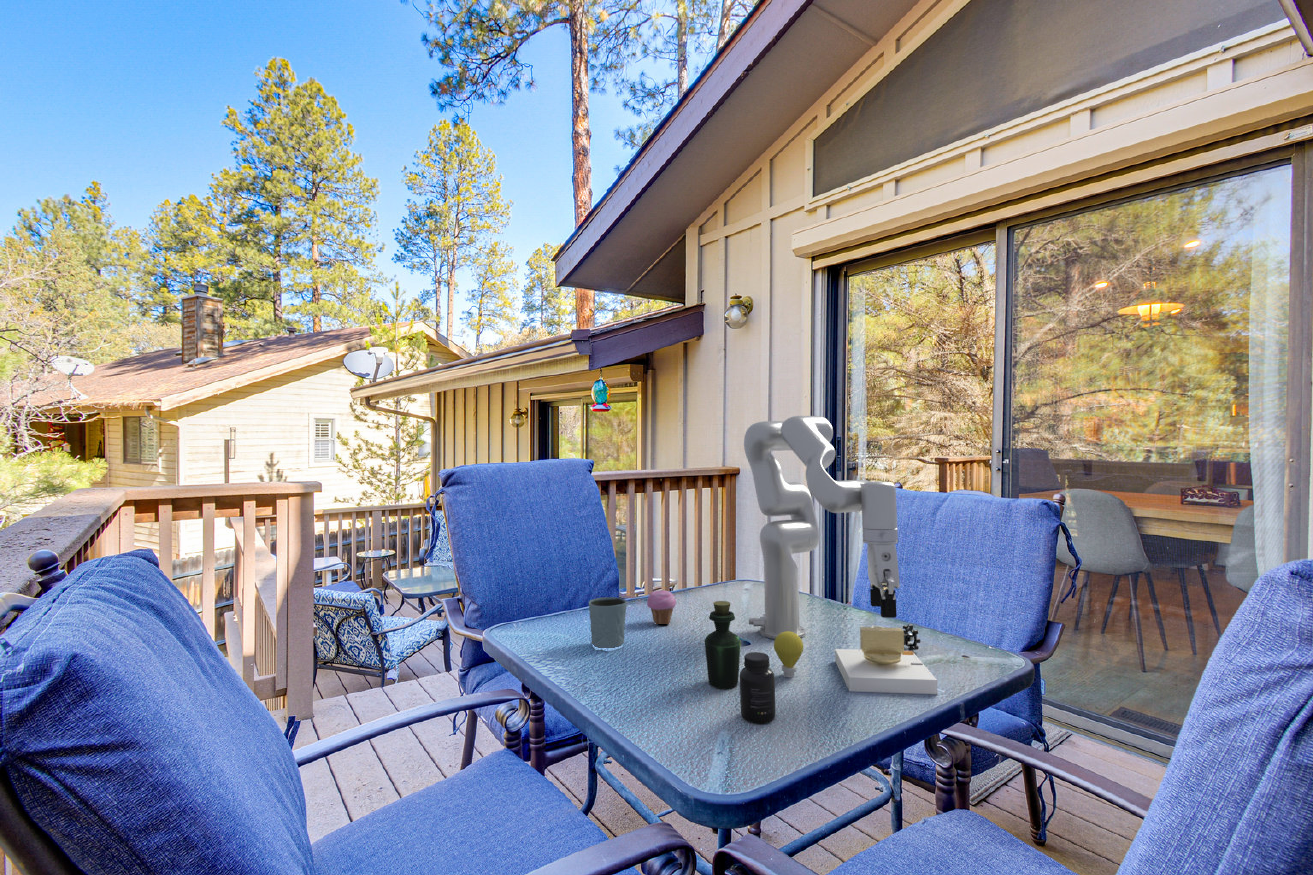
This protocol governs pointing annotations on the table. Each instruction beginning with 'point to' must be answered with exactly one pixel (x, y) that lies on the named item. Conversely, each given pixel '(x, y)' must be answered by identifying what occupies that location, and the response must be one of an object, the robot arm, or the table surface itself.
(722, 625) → the potion bottle
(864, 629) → the knob
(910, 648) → the valve
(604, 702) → the table surface
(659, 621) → the cupcake
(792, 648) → the light bulb
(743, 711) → the supplement bottle
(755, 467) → the robot arm
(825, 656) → the table surface
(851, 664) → the base plate
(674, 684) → the table surface
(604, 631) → the grey cup
